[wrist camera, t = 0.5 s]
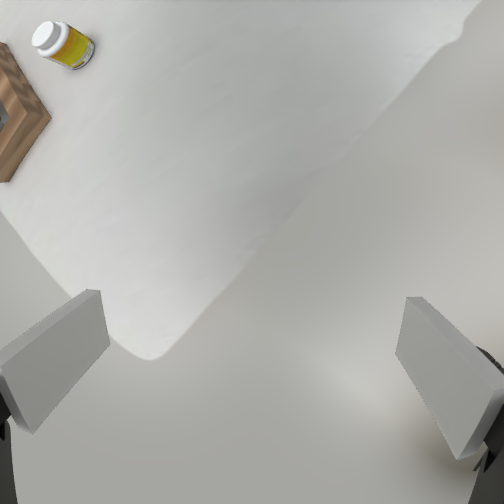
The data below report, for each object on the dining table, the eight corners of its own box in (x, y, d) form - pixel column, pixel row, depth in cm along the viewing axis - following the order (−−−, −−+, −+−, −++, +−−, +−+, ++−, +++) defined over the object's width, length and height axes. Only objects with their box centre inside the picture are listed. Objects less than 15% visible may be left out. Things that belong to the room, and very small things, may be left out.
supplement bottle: (100, 39, 33) (64, 14, 23) (86, 71, 35) (46, 52, 25) (75, 38, 33) (38, 16, 23) (62, 68, 35) (21, 52, 25)
